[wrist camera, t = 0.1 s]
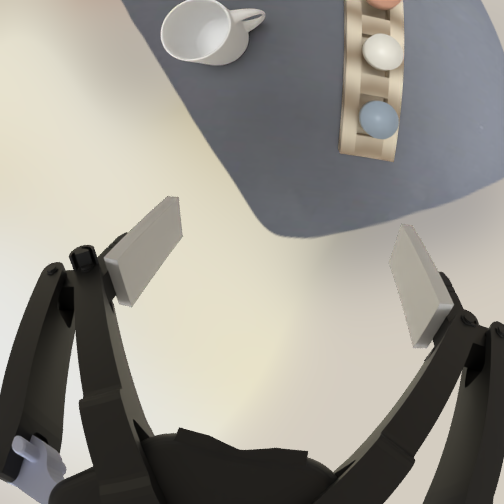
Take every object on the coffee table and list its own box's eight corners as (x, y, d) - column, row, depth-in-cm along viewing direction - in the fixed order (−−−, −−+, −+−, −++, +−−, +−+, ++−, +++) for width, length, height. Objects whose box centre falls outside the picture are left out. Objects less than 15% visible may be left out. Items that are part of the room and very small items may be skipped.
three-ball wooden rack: (342, -30, 21) (344, -37, 19) (394, -19, 20) (400, -25, 18) (338, 148, 38) (340, 153, 36) (388, 156, 37) (393, 162, 34)
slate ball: (356, 96, 31) (363, 97, 27) (390, 103, 30) (400, 105, 26) (354, 130, 33) (359, 135, 30) (387, 136, 33) (396, 142, 29)
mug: (281, 46, 31) (272, 32, 22) (205, 74, 35) (174, 72, 26) (260, 0, 27) (244, -25, 18) (186, 30, 31) (151, 19, 22)
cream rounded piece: (359, 36, 26) (365, 30, 22) (393, 43, 25) (403, 38, 21) (358, 67, 28) (364, 65, 25) (392, 74, 28) (402, 73, 24)
